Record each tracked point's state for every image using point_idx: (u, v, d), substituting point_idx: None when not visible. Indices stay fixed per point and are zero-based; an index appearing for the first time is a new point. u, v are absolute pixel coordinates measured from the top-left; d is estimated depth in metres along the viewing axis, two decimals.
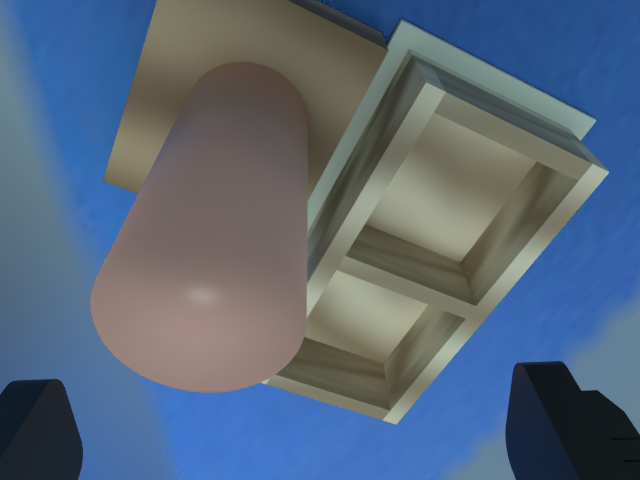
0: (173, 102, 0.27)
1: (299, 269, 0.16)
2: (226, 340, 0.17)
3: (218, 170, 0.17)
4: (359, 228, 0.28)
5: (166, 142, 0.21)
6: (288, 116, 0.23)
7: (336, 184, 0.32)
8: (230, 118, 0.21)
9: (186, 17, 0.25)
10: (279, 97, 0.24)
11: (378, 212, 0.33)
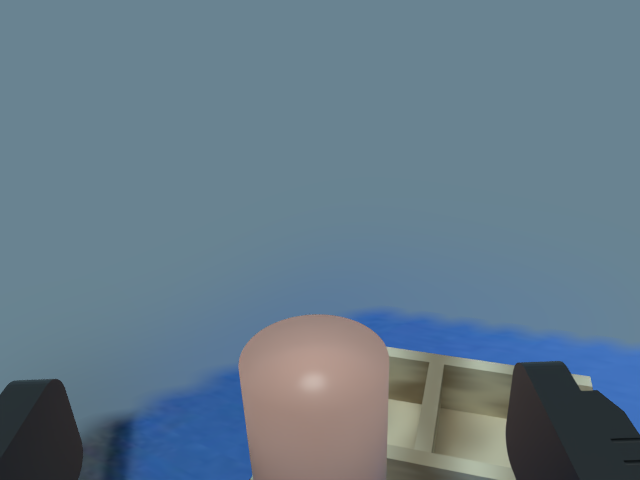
0: None
1: None
2: (330, 345, 0.24)
3: None
4: None
5: None
6: None
7: None
8: None
9: None
10: None
11: None
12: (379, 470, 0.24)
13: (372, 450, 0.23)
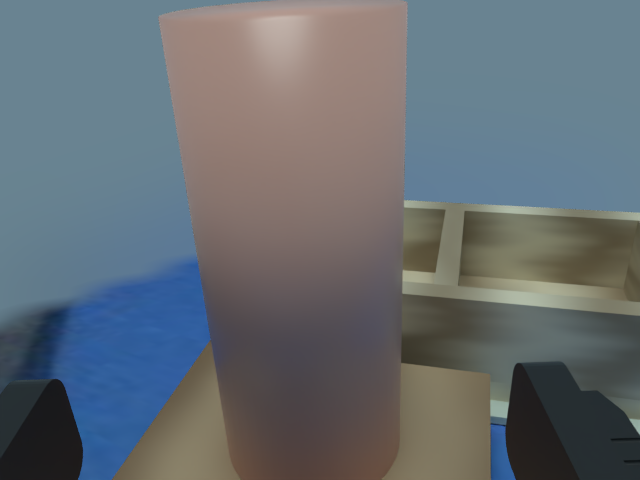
0: None
1: None
2: (311, 4, 0.15)
3: None
4: None
5: (238, 320, 0.15)
6: None
7: None
8: None
9: None
10: None
11: None
12: (394, 204, 0.15)
13: (384, 148, 0.14)
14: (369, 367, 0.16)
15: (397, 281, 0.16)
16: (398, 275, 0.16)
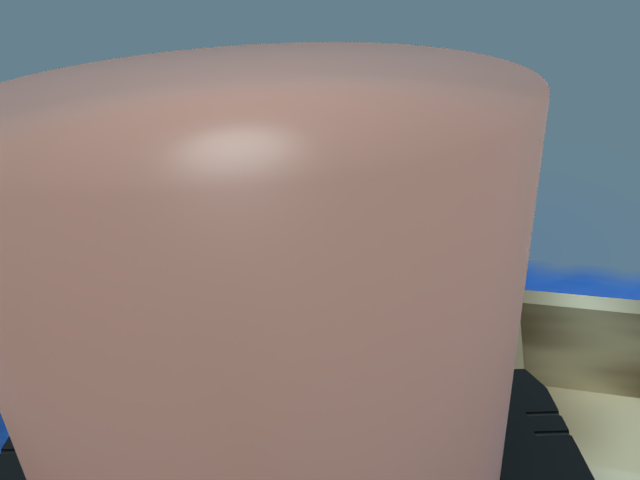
0: None
1: None
2: (307, 67, 0.07)
3: None
4: None
5: None
6: None
7: None
8: None
9: None
10: None
11: None
12: None
13: (484, 438, 0.05)
14: None
15: None
16: None
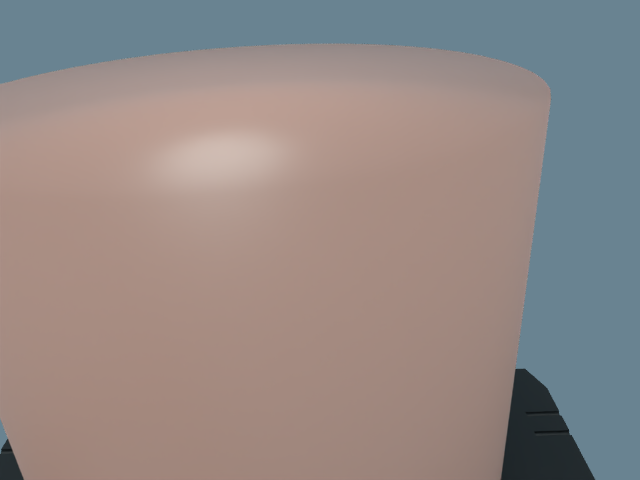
0: None
1: None
2: (306, 69, 0.07)
3: None
4: None
5: None
6: None
7: None
8: None
9: None
10: None
11: None
12: None
13: (484, 442, 0.05)
14: None
15: None
16: None
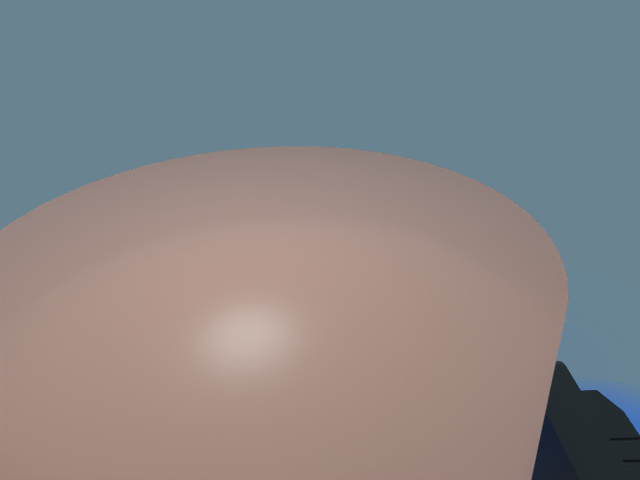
0: None
1: None
2: (321, 208, 0.07)
3: None
4: None
5: None
6: None
7: None
8: None
9: None
10: None
11: None
12: None
13: None
14: None
15: None
16: None
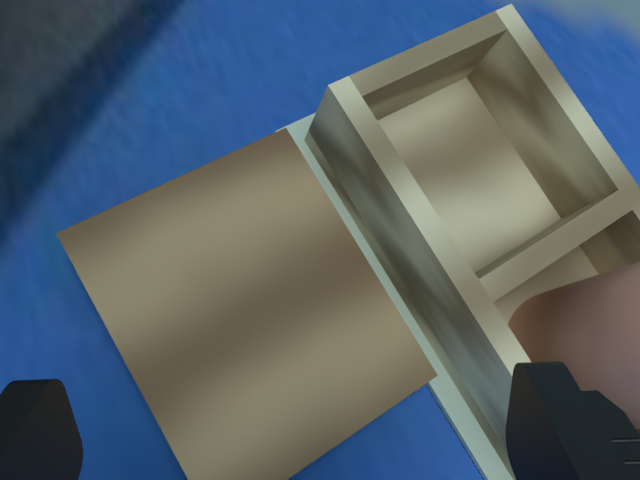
0: (189, 358, 0.21)
1: None
2: None
3: None
4: (450, 240, 0.22)
5: (610, 359, 0.19)
6: None
7: (398, 284, 0.26)
8: (613, 285, 0.20)
9: (122, 274, 0.21)
10: (575, 282, 0.24)
11: None
12: None
13: None
14: None
15: None
16: None
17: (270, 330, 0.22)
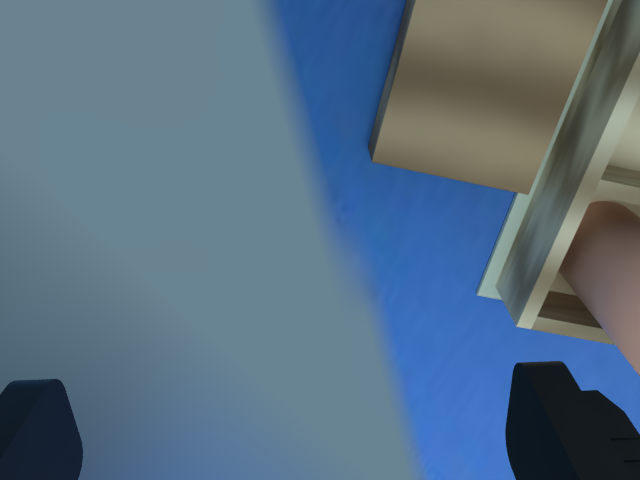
0: (430, 77, 0.32)
1: None
2: None
3: None
4: (612, 149, 0.32)
5: (606, 270, 0.32)
6: None
7: (563, 130, 0.36)
8: None
9: (441, 0, 0.31)
10: None
11: None
12: None
13: None
14: (584, 304, 0.35)
15: None
16: None
17: (479, 100, 0.33)
